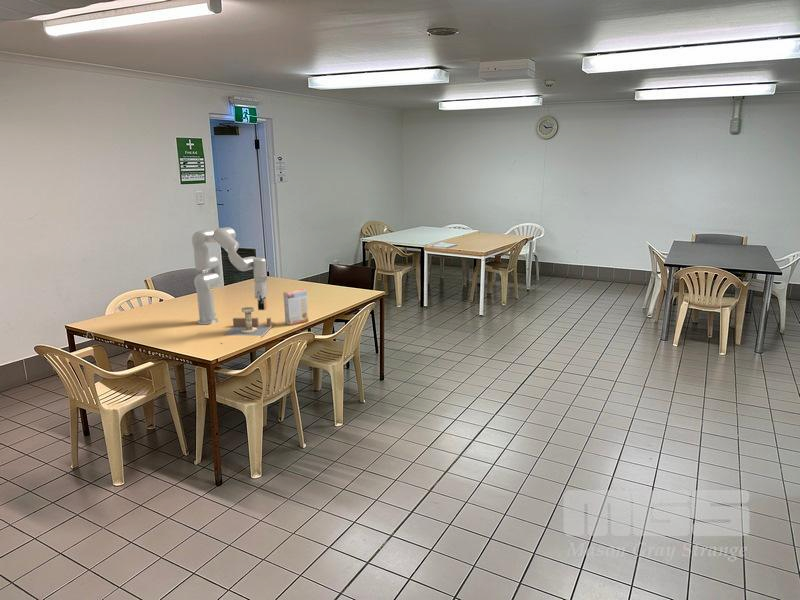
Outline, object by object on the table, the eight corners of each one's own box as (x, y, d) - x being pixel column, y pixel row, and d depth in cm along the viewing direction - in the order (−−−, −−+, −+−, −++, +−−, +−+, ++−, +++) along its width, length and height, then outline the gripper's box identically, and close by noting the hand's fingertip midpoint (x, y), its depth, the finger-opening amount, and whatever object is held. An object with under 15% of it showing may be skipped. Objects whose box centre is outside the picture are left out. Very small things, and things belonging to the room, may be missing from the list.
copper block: (260, 308, 328) (259, 297, 327) (266, 308, 328) (266, 297, 326) (258, 310, 324) (257, 298, 323) (264, 310, 324) (264, 299, 323)
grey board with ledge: (234, 327, 335) (234, 317, 333) (271, 328, 334) (270, 317, 332) (223, 337, 316) (222, 326, 314) (262, 337, 314) (261, 327, 313)
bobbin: (244, 329, 327) (242, 306, 324) (259, 329, 326) (257, 306, 323) (239, 333, 318) (237, 310, 315) (254, 333, 318) (252, 310, 314)
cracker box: (303, 319, 352) (302, 288, 347) (308, 321, 347) (307, 290, 342) (284, 323, 343) (282, 291, 338) (289, 325, 338) (287, 293, 333)
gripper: (258, 276, 330) (260, 305, 334) (249, 281, 314) (251, 312, 318) (270, 276, 330) (272, 305, 334) (262, 281, 313) (264, 312, 318)
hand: (262, 308), depth 326 cm, fingers closed on copper block, 4 cm apart
